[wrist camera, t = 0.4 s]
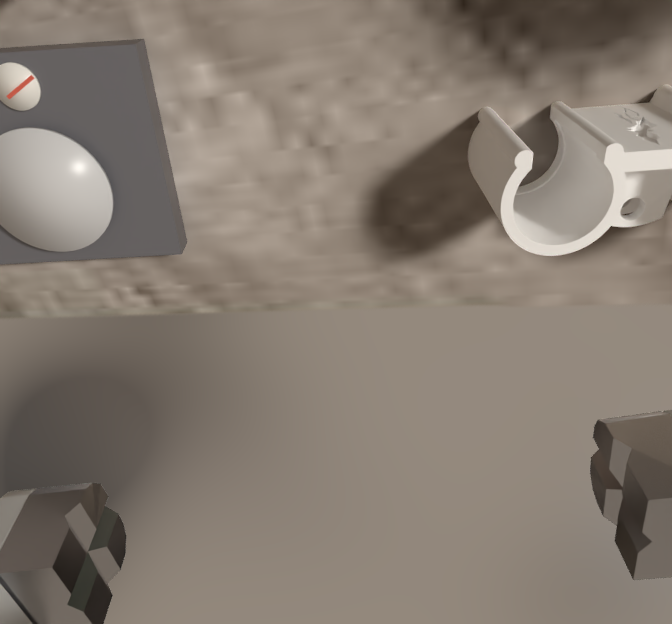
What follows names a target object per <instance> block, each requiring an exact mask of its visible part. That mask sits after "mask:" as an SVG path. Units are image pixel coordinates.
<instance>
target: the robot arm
mask: <svg viewBox="0 0 672 624" xmlns="http://www.w3.org/2000/svg"><path fill="white" fill-rule="evenodd" d="M593 438H594V440H595V442H596V444H597V446H598V448H599V450H598V451H597V452H596V453H595V454H594V455H593V456H592V457H591V465H590V474H591V481H592V487H593V491H594V495H595V498H596V501H597V504H598V506H599V508H600V510H601V512H602V515H603V516H604V517H605V518H607V519H608V520H609V521H611V522H612V523H614V524H615V525H617V529H616V535H615V543H616V545H617V547H618V549H619V551H620V553H621V555H622V557H623V560H624V561H625V564H626V566H627V568H628V570H629V572H630V574H631V576H632V578H633V580H641V579H655V578H667V577H672V410H667V411H664V412H661V411H658V412H652V413H643V414H636V415H628V416H622V417H614V418H607V419H599V420H598V421H597V422H596V424H595V427H594V434H593ZM108 497H109V496H108V495H107V493H106V492H105V490H104V488H103V487H102V485H101V484H100V483H85V484H75V485H65V486H54V487H45V488H37V489H28V490H19V491H9V492H8V493H7V494H5V495H4V496H3V497H2V498H0V624H104V620H105V617H106V614H107V611H108V608H109V605H110V602H111V599H112V596H113V595H112V593H111V590H110V588H109V586H108V583H109V581H110V580H111V579H113V577H114V576H115V575H116V574H117V573H118V572H119V571H120V570H121V567H122V564H123V560H124V557H125V553H126V533H125V528H124V524H123V522H122V520H121V518H120V516H119V514H118V513H116V512H114V511H113V510H111V509H109V508H108V507H106V506H105V505H106V502H107V499H108Z"/></svg>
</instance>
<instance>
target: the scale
mask: <svg viewBox="0 0 672 624" xmlns="http://www.w3.org/2000/svg"><path fill="white" fill-rule="evenodd" d="M186 244H187V239H186V234H185V230H184V225H183V220H182V216H181V211H180V206H179V202H178V197H177V192H176V187H175V183H174V178H173V173H172V169H171V164H170V159H169V155H168V150H167V145H166V140H165V136H164V131H163V126H162V122H161V117H160V112H159V108H158V103H157V98H156V93H155V89H154V84H153V79H152V75H151V70H150V65H149V61H148V56H147V51H146V47H145V42H144V39H137V40H121V41H106V42H90V43H75V44H59V45H43V46H28V47H12V48H0V264H17V263H35V262H52V261H70V260H87V259H105V258H123V257H140V256H158V255H175V254H182V253H183V250H184V248H185V246H186Z"/></svg>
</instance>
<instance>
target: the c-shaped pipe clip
mask: <svg viewBox="0 0 672 624" xmlns="http://www.w3.org/2000/svg"><path fill="white" fill-rule="evenodd" d="M550 119H551V120H552V122H553V123H554V125H555V127H556V129H557V132H558V138H559V144H558V151H557V154H556V157H555V159H554V161H553V163H552V165H551V166H550V167H549V169H548V170H547V171H546V172H545V173H544V174H543V175H542V176H541V177H540V178H538V179H537V180H535V181H533V182H531V183H529V184H527V185H524V186H520V187H518V186H519V185H520V183H521V181H522V180H523V178H524V177H525V176H526V175H527V173H528V172H529V171H530V170H531V169H532V162H533V152H532V151H531V150H530V149H529V147H528V146H527V145H526V144H525V143H524V142H523V141H522V140H521V139H520V138H519V137H518V136H517V135H516V134H515V132H514V131H513V130H512V129H511V128H510V127H509V126H508V125H507V124H506V123H505V122H504V121H503V120H502V119H501V118H500V116H499V115H498V114H497V113H496V112H495V111H494V110H493V109H492V108H490V107H484V108H482V109H481V110H480V111H479V113H478V120H479V121H480V122H479V124H478V125H477V127H476V128H475V130H474V132H473V134H472V136H471V139H470V143H469V147H468V163H469V168H470V171H471V173H472V175H473V177H474V179H475V180H476V182H477V184H478V185H479V187H480V189H481V190H482V192H483V194H484V195H485V197H486V199H487V200H488V202H489V204H490V205H491V207H492V209H493V210H494V212H495V214H496V215H497V217H498V219H499V220H500V222H501V224H502V225H503V227H504V229H505V230H506V232H507V234H508V235H509V237H510V238H511V239H512V240H513V241H514V242H515V243H516V244H517V245H518V246H519V247H521V248H523V249H524V250H526V251H529V252H531V253H534V254H538V255H545V256H556V255H563V254H568V253H572V252H575V251H577V250H580V249H582V248H584V247H586V246H588V245H590V244H591V243H593V242H594V241H596V240H597V239H598V238H599V237H601V236H602V235H603V234H604V233H605V232H606V231H607V230H608V229H609V228H610V226H615V227H634V226H639V225H644V224H647V223H650V222H653V221H656V220H658V219H660V218H662V217H663V214H664V212H665V210H666V207H667V205H668V202H669V200H670V199H671V200H672V86H670V85H663V86H661V87H659V88H658V89H657V90H656V91H655V93H654V95H653V97H652V99H651V100H650V102H649V103H636V104H623V105H610V106H598V107H585V108H572V109H571V108H569V107H568V106H567V105H565V104H564V103H563V102H560V101H557V102H554V103H553V104H551V111H550ZM631 212H633V213H631ZM627 213H631V214H629V215H622V214H627Z"/></svg>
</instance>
